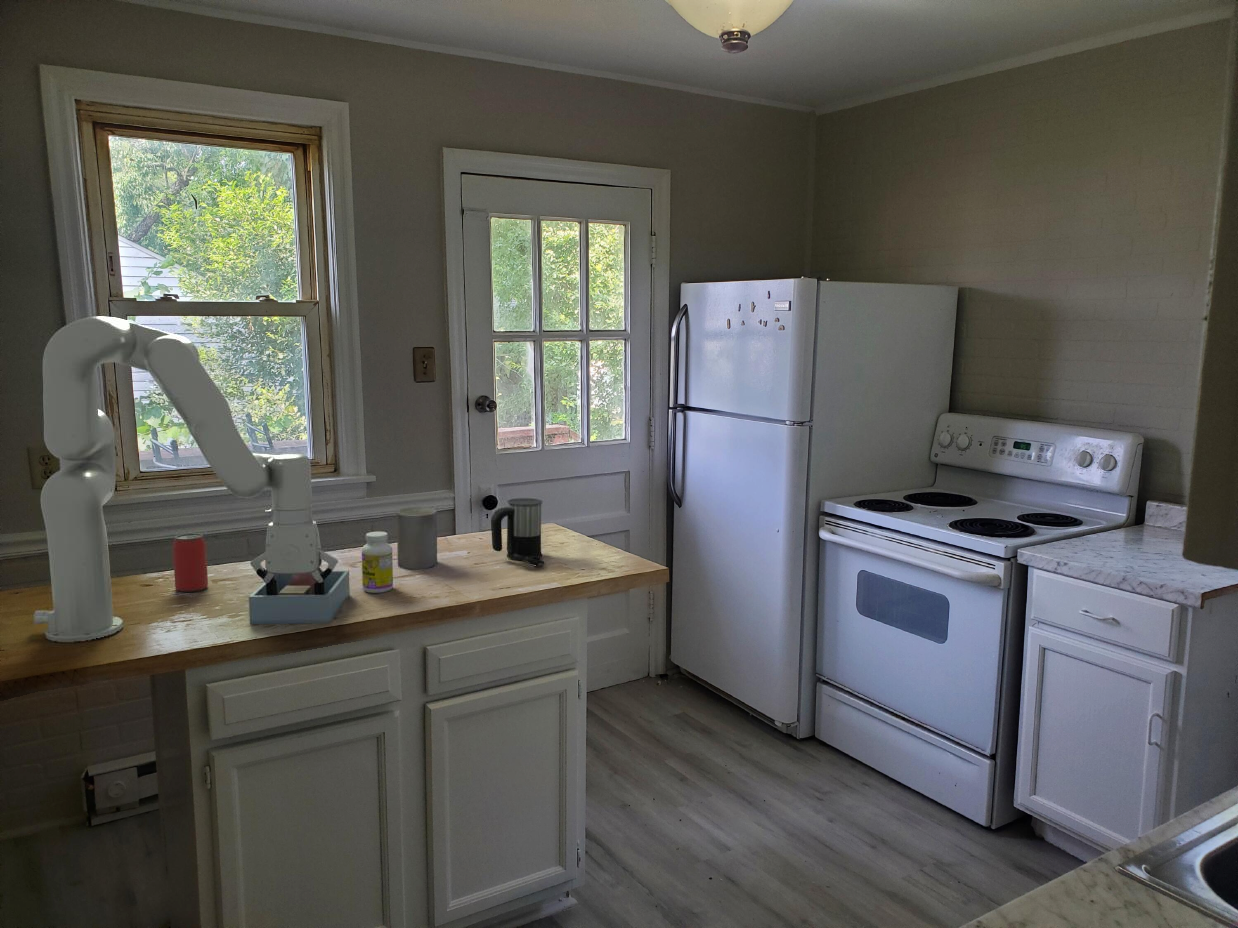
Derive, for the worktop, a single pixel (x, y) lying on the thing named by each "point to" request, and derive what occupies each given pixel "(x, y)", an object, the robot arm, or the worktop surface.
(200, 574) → the beer can
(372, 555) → the supplement bottle
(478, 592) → the worktop surface
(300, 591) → the walnut cube
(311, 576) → the vegetable
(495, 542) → the milk frother
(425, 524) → the pillar candle
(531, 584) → the worktop surface
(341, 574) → the tote
